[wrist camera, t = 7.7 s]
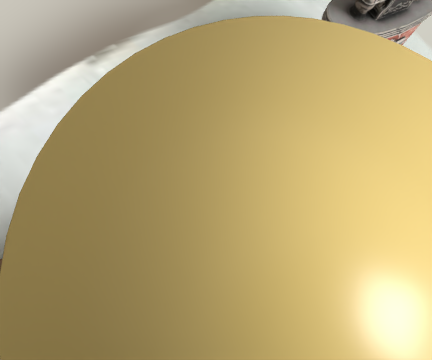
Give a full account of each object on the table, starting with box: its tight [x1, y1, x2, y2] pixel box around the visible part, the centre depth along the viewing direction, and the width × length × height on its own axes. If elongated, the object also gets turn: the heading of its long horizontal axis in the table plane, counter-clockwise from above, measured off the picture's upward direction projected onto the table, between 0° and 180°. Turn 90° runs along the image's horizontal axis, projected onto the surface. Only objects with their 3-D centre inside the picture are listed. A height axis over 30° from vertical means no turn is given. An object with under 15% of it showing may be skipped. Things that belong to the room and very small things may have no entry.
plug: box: [0, 16, 432, 360], centre depth 9 cm, size 4×4×13 cm
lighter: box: [322, 0, 432, 45], centre depth 24 cm, size 8×3×10 cm, turn 119°
